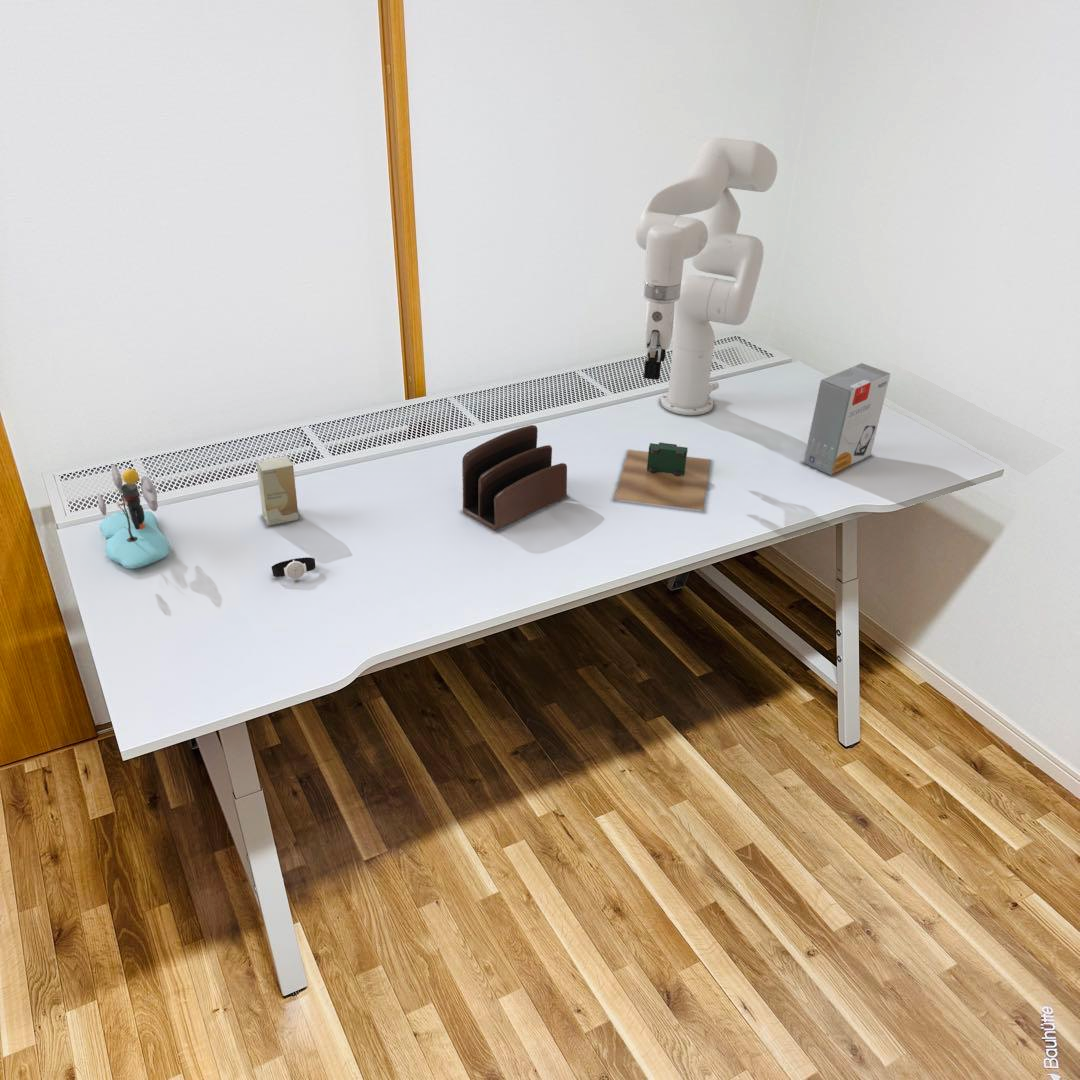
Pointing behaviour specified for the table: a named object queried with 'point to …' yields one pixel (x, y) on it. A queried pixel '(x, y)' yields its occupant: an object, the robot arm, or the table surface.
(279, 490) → the cosmetic box
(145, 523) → the winged figurine
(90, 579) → the table surface
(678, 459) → the green box with feet
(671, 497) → the wooden board
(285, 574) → the watch
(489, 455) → the letter holder
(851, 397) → the hard drive box
